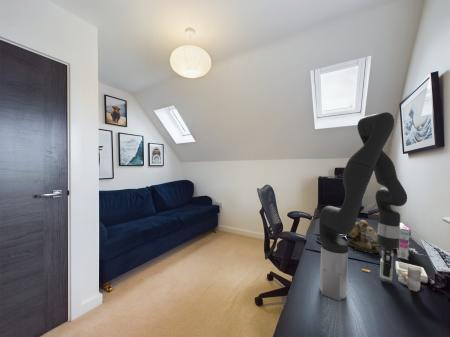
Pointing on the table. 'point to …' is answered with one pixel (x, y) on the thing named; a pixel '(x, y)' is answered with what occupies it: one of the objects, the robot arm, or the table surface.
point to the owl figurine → (363, 237)
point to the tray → (404, 268)
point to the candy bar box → (404, 243)
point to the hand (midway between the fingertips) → (385, 273)
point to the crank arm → (412, 278)
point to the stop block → (382, 271)
